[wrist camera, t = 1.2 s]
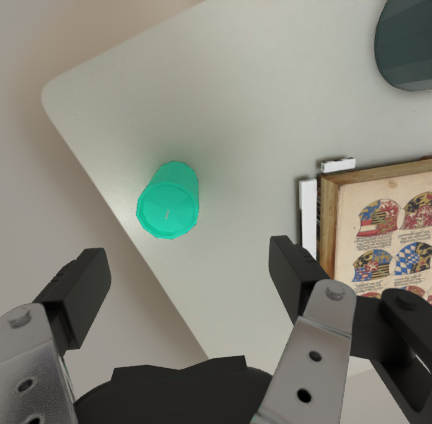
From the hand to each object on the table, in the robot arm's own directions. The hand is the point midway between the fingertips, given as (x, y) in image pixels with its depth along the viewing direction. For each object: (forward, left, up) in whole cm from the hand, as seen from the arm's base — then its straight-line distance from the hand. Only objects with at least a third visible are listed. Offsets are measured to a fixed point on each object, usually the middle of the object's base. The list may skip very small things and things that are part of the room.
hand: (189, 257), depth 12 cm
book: (+24, +19, -22) cm, 38 cm away
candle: (+1, -3, -22) cm, 23 cm away
